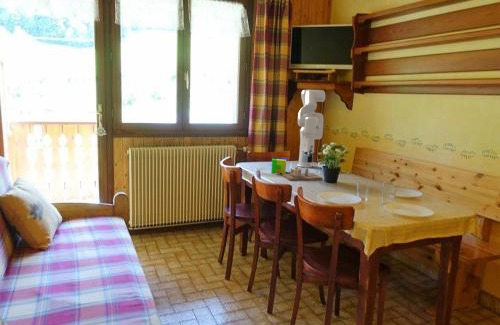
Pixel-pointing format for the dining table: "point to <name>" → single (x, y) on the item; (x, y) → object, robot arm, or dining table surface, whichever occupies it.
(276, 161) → the puzzle toy
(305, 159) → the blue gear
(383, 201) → the dining table surface
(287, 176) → the gear board
